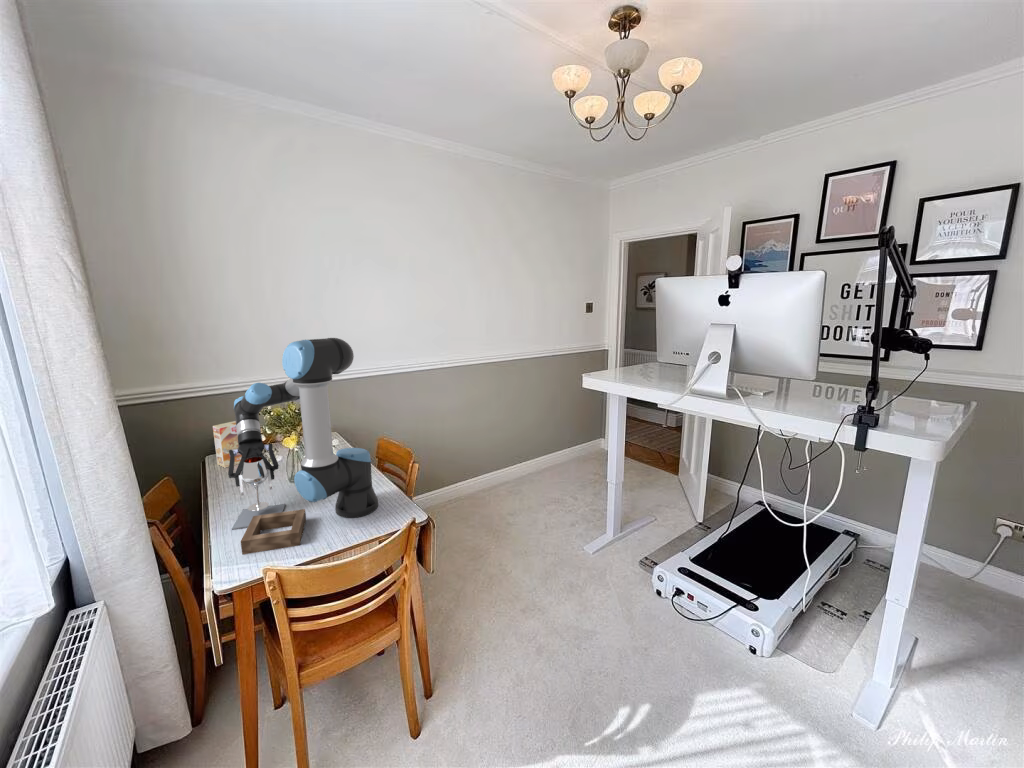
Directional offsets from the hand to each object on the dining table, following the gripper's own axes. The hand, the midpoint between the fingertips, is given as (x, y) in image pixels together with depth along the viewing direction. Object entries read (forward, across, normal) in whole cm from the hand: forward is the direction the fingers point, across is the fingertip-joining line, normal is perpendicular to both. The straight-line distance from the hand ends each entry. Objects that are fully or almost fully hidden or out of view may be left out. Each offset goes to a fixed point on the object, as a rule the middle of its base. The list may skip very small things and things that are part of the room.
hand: (256, 490), depth 145 cm
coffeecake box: (-40, +5, -57) cm, 70 cm away
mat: (+6, 0, -10) cm, 12 cm away
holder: (+18, -4, +2) cm, 19 cm away
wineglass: (+3, 0, -8) cm, 8 cm away
